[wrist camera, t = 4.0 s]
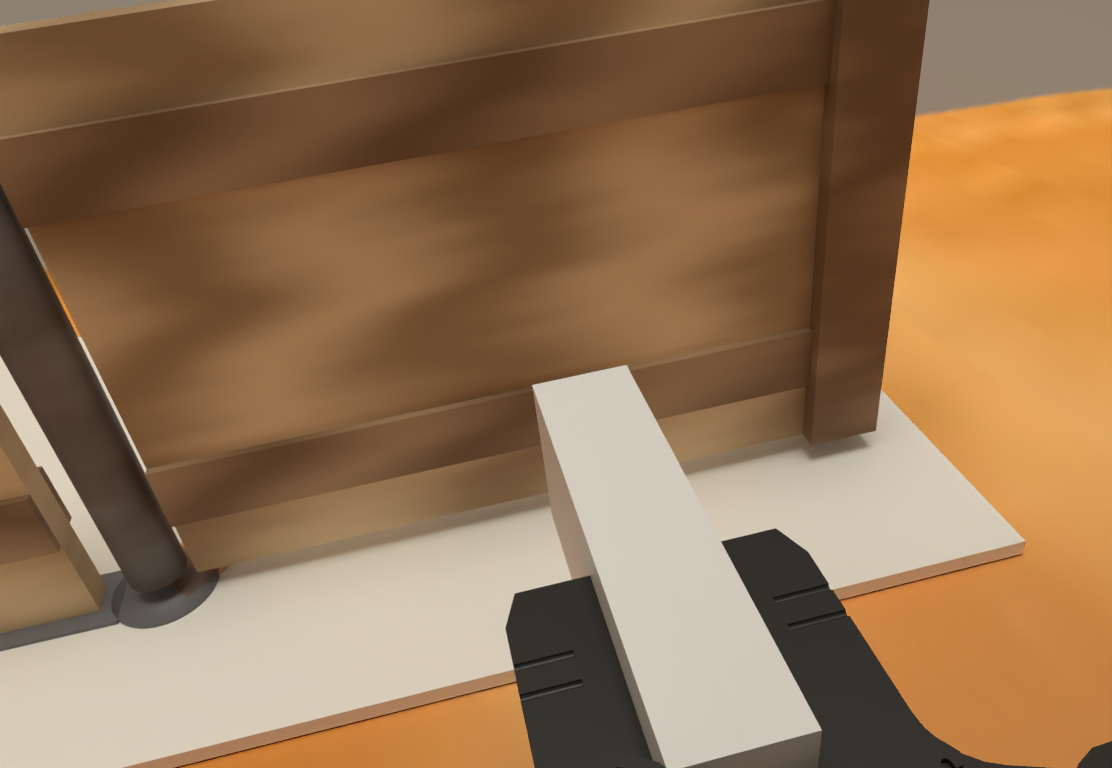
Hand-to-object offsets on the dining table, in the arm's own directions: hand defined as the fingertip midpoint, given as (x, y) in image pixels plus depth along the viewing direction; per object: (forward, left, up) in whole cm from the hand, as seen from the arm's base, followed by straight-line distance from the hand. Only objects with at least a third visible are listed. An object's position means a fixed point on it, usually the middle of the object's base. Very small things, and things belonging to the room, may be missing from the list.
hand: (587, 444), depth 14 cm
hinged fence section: (+1, -6, -6) cm, 9 cm away
